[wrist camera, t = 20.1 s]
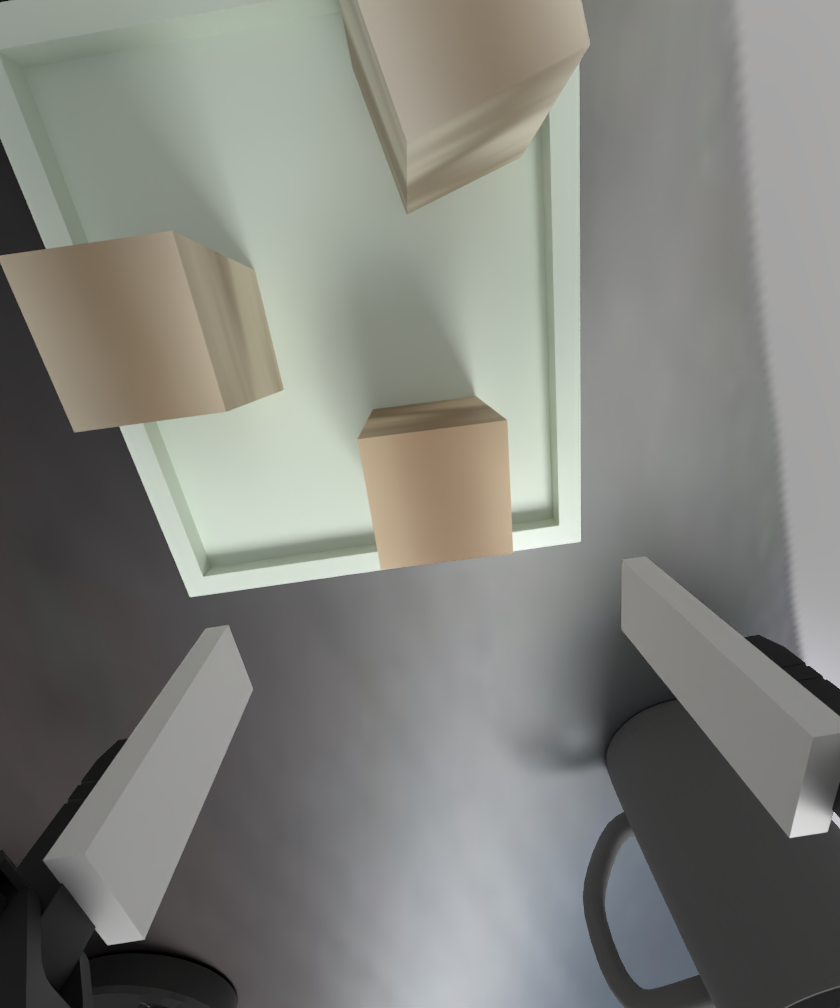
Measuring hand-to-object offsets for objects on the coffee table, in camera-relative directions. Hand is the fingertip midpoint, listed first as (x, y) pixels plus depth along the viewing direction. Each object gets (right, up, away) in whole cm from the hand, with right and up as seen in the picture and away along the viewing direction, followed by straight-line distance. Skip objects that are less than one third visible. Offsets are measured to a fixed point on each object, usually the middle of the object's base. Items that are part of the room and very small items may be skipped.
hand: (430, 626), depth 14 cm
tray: (-4, +11, +4) cm, 12 cm away
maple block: (0, +18, +1) cm, 18 cm away
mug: (+14, -13, +14) cm, 24 cm away
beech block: (-9, +11, +3) cm, 14 cm away
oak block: (0, +6, +5) cm, 8 cm away
